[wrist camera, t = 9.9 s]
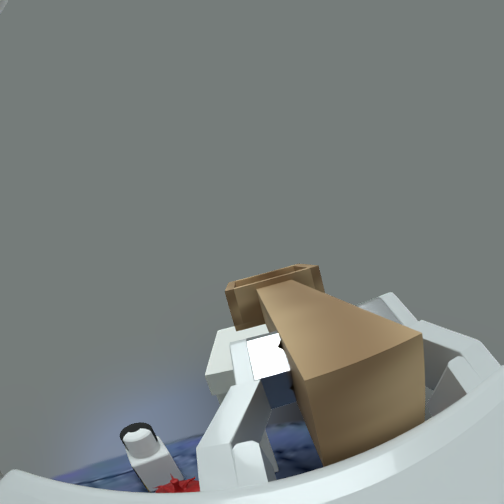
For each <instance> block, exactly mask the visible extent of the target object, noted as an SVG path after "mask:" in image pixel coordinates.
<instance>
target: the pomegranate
mask: <svg viewBox="0 0 504 504" xmlns="http://www.w3.org/2000/svg"><path fill="white" fill-rule="evenodd" d="M170 475H171V473H170ZM171 477H172V480H170V483H168V484H166V485H163V486H162V485H160V486H157V487H155V488H158V489H157V490H156V492H155V493H186V492H200V485H199V481H195V480H194V479H195V477H194V478H192V479H188V480H182V481H179V480H178V479H177V478H173V476H172V475H171Z"/></svg>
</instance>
